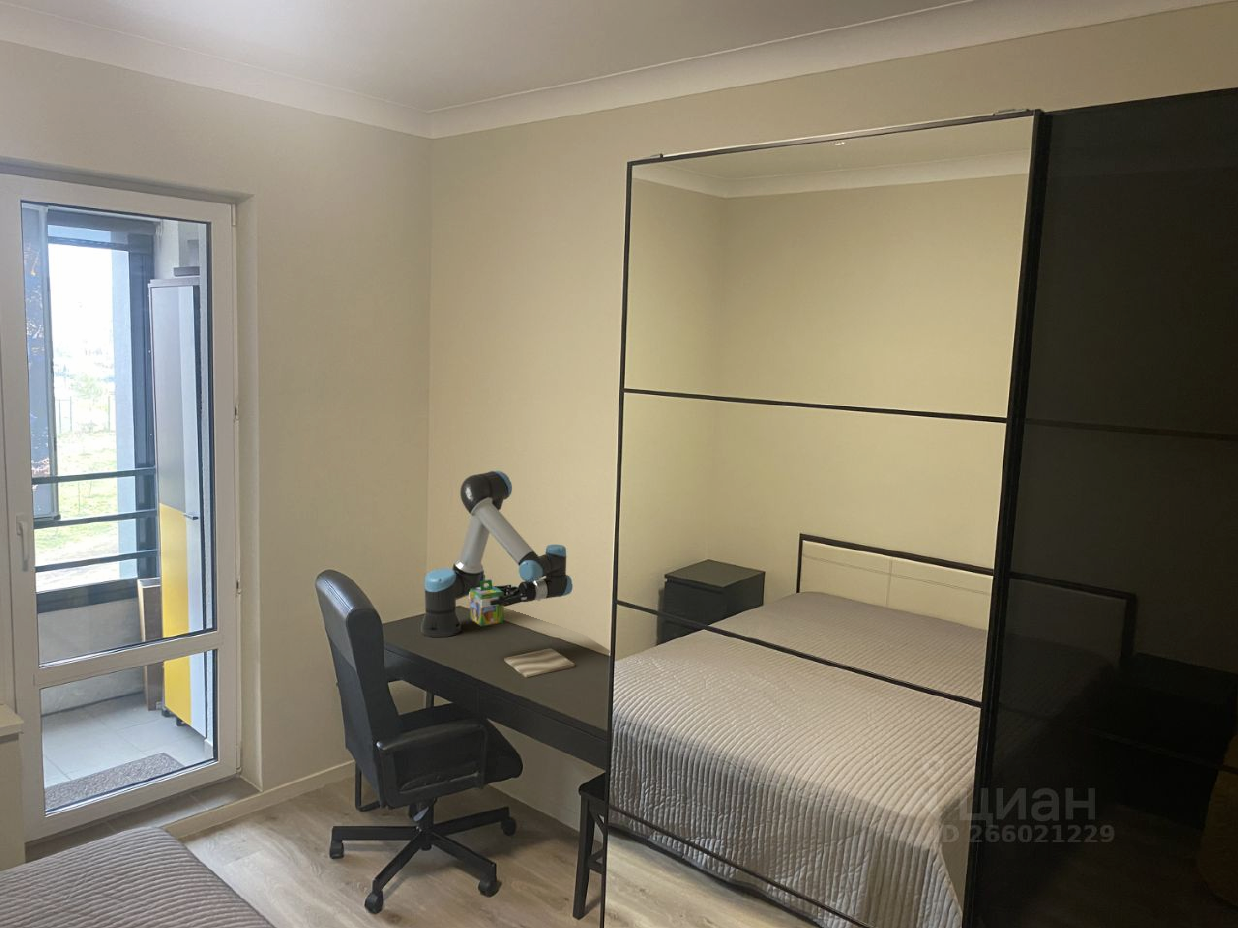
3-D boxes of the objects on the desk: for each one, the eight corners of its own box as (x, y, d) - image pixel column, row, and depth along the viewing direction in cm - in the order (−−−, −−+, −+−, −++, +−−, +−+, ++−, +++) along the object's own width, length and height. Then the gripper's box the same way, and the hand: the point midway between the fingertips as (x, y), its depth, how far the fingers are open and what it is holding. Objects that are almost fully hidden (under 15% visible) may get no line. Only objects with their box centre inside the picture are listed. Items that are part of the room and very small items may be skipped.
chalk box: (481, 627, 307) (481, 586, 304) (469, 619, 314) (469, 579, 311) (504, 622, 312) (504, 582, 309) (492, 614, 319) (492, 575, 317)
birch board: (504, 660, 312) (504, 658, 312) (551, 650, 323) (551, 648, 322) (525, 677, 298) (525, 674, 298) (574, 666, 309) (574, 663, 308)
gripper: (546, 609, 313) (488, 619, 301) (518, 592, 331) (463, 600, 319) (546, 588, 311) (488, 598, 299) (518, 572, 330) (463, 581, 318)
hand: (475, 599), depth 309 cm, fingers closed on chalk box, 9 cm apart
